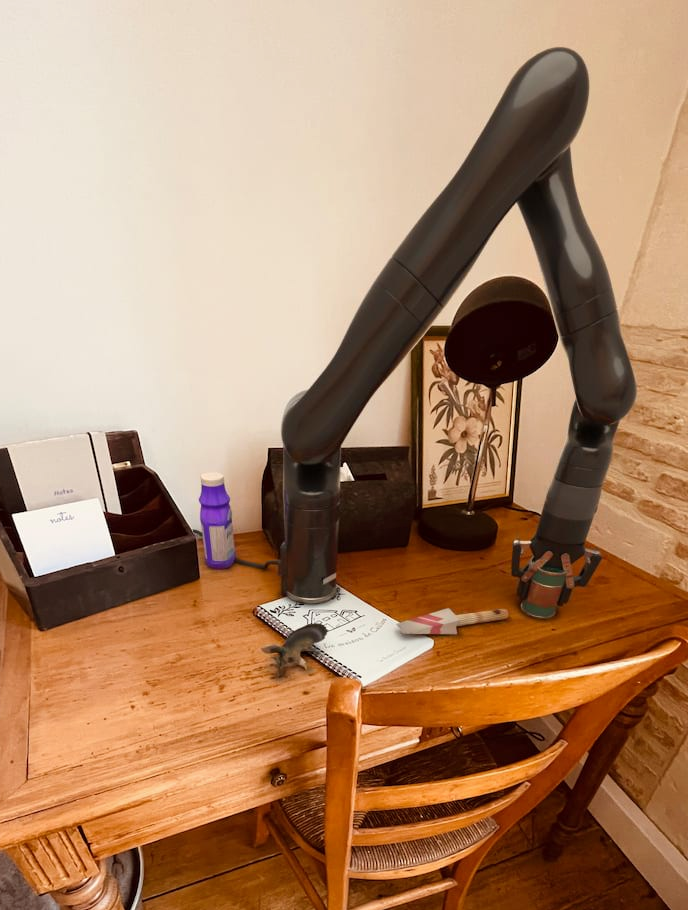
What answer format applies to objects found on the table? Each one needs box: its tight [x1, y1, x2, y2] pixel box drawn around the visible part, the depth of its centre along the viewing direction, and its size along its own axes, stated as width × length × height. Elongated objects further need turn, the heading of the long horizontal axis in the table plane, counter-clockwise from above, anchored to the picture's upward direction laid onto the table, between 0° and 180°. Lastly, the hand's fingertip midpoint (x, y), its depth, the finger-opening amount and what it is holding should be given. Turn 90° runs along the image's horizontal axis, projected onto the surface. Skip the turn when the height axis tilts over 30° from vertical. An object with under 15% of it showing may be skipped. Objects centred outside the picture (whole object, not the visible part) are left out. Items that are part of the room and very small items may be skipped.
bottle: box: [198, 471, 236, 570], centre depth 98 cm, size 7×6×17 cm
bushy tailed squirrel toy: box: [260, 622, 329, 678], centre depth 77 cm, size 8×7×9 cm
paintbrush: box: [395, 607, 509, 635], centre depth 86 cm, size 4×3×20 cm
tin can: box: [520, 560, 567, 621], centre depth 90 cm, size 6×6×9 cm
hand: (540, 600), depth 91 cm, fingers closed on tin can, 5 cm apart
